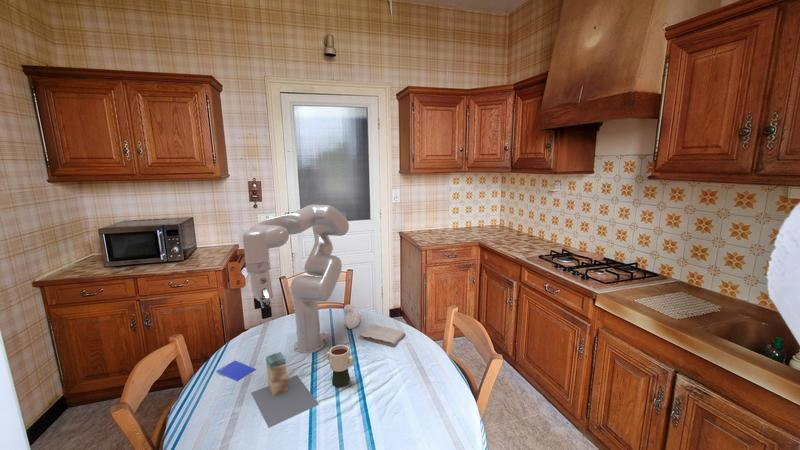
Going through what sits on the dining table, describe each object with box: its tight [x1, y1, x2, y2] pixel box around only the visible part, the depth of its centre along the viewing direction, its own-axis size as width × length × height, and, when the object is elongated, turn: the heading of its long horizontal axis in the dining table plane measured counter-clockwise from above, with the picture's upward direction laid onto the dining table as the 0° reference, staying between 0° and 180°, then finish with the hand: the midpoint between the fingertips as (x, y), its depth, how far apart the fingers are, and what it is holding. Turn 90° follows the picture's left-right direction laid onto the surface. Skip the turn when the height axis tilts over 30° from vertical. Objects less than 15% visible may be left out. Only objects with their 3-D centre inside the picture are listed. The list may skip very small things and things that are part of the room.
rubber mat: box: [250, 374, 320, 429], centre depth 114 cm, size 16×20×1 cm
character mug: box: [326, 344, 355, 388], centre depth 121 cm, size 11×7×13 cm, turn 67°
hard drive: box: [215, 359, 257, 382], centre depth 130 cm, size 2×8×12 cm
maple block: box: [265, 351, 288, 396], centre depth 118 cm, size 5×5×12 cm
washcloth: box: [359, 324, 406, 348], centre depth 154 cm, size 12×18×3 cm, turn 64°
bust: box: [343, 303, 362, 330], centre depth 165 cm, size 12×8×11 cm
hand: (263, 312), depth 120 cm, fingers open, 9 cm apart
